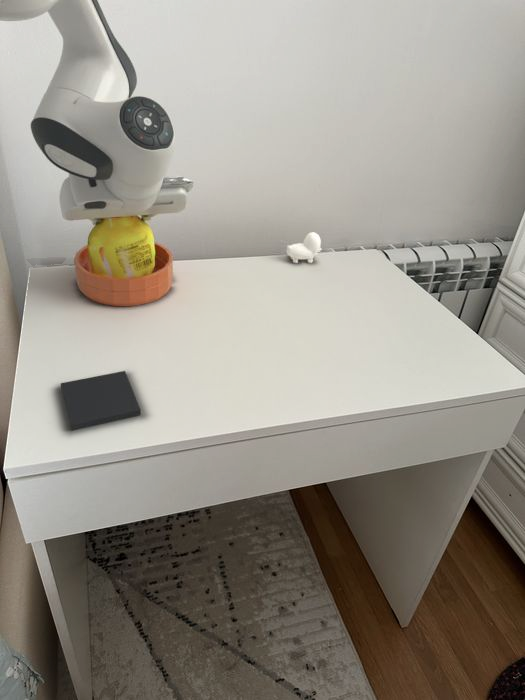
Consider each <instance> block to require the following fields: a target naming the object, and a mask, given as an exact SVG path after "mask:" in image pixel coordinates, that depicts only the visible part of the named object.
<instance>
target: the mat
mask: <svg viewBox="0 0 525 700" xmlns="http://www.w3.org/2000/svg"><path fill="white" fill-rule="evenodd" d="M60 388H61V392H62V397H63V401H64V402H63V403H64V405H65V406H64V407H65V410H66V414H67V417H68V423H69V427H70V431H72V432H73V431H76V430H81V429H85V428H86V429H87V428H89V427H94V426H99V425H103V424H108V423H113V422H116V421H120V420H126V419H130V418H134V417H139V416H141V415H142V412H141V411H142V410H141V408H140V405H139V402H138V400H137V398H136V395H135V392H134V389H133V388H132V385H131V382H130V379H129V378H128V374H127V371H126V370H122V371H117V372H112V373H111V372H110V373H106V374H101V375H96V376H91V377H86V378H80V379H75V380H70V381H64V382H60Z"/></svg>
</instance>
